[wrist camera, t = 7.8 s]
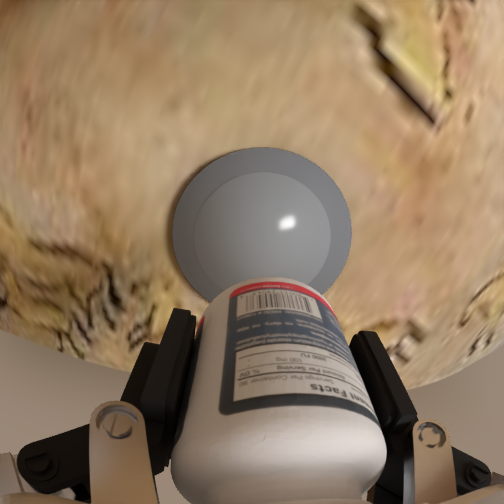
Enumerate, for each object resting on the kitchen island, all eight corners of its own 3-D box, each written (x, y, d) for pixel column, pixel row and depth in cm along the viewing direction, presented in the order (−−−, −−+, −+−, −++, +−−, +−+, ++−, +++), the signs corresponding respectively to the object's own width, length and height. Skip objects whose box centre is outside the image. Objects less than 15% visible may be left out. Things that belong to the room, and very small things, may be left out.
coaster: (367, 168, 19) (370, 169, 18) (324, 321, 23) (326, 326, 23) (184, 135, 18) (181, 135, 18) (170, 300, 23) (167, 304, 22)
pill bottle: (263, 397, 13) (270, 586, 5) (171, 331, 11) (106, 558, 3) (361, 331, 11) (444, 539, 3) (274, 241, 10) (329, 552, 2)
